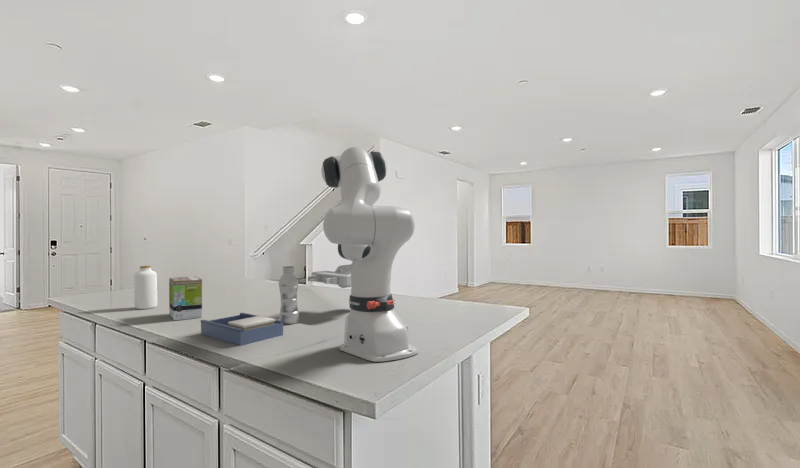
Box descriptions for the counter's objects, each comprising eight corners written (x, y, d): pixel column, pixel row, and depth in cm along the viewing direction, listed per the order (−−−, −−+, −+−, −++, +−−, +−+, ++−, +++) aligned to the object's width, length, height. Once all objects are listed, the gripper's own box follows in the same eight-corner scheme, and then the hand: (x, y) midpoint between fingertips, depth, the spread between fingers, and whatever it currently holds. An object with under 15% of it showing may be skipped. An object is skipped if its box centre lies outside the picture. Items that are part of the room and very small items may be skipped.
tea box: (203, 317, 157) (202, 278, 156) (173, 321, 151) (172, 280, 151) (197, 311, 169) (196, 275, 169) (168, 314, 163) (168, 277, 163)
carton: (275, 335, 125) (275, 319, 125) (244, 343, 117) (243, 325, 117) (259, 331, 130) (259, 315, 130) (228, 338, 122) (227, 321, 122)
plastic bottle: (294, 327, 139) (293, 267, 139) (275, 326, 140) (274, 267, 140) (302, 323, 145) (301, 266, 145) (284, 322, 146) (283, 265, 146)
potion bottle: (152, 305, 184) (151, 264, 184) (161, 307, 179) (160, 265, 179) (131, 308, 177) (130, 266, 177) (140, 310, 172) (139, 267, 172)
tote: (283, 337, 126) (283, 320, 126) (240, 348, 115) (240, 330, 115) (242, 327, 139) (242, 312, 139) (200, 336, 128) (200, 320, 128)
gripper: (328, 266, 169) (299, 269, 159) (363, 270, 156) (335, 273, 145) (328, 282, 169) (299, 286, 159) (363, 286, 156) (335, 291, 145)
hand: (316, 280), depth 152 cm, fingers open, 8 cm apart
